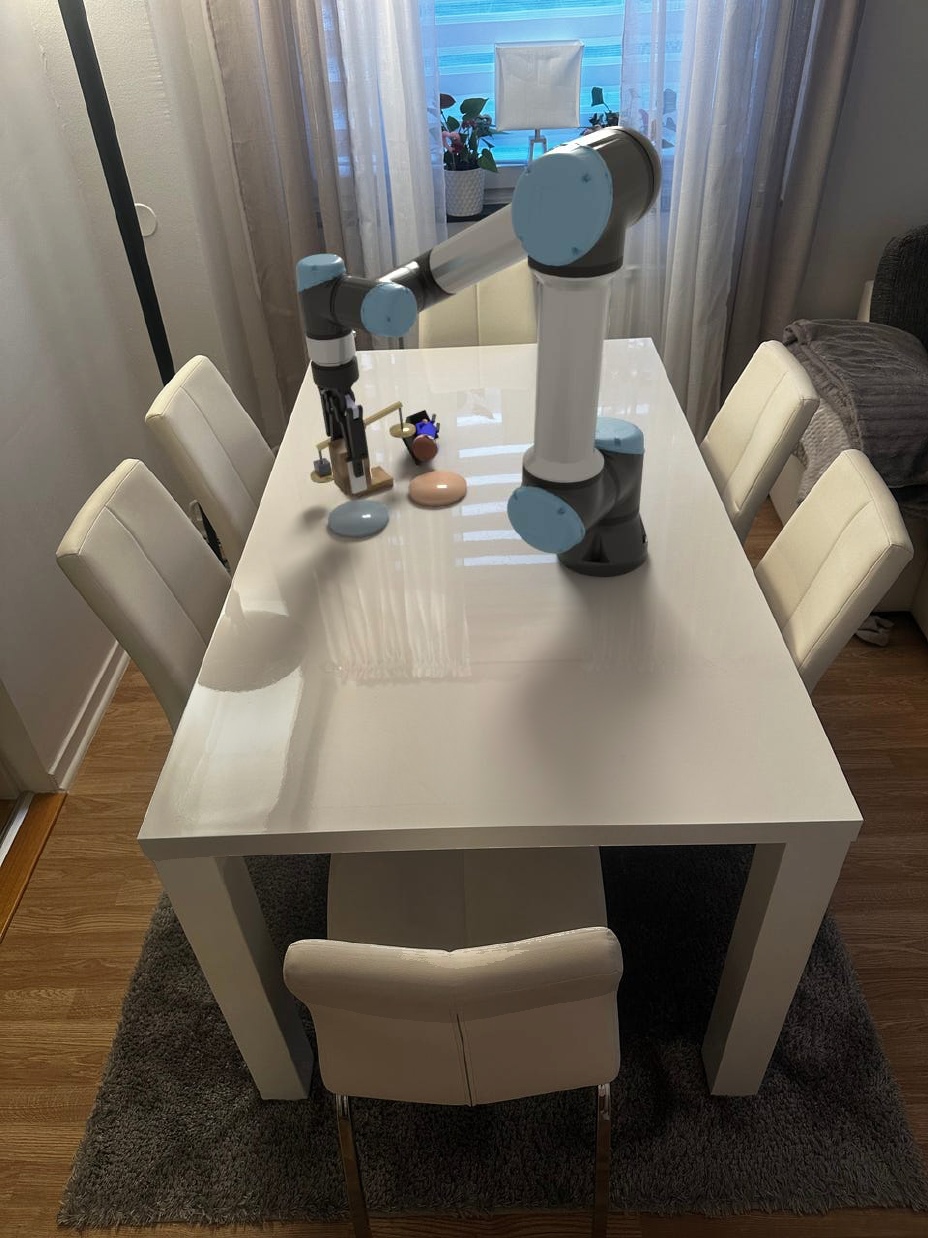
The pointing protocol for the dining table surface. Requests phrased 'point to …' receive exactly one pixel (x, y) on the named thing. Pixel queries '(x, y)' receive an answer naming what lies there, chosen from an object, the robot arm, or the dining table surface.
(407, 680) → the dining table surface
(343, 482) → the block
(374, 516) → the blue gray round dish
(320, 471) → the balance
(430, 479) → the peach glossy dome
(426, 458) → the character figurine
